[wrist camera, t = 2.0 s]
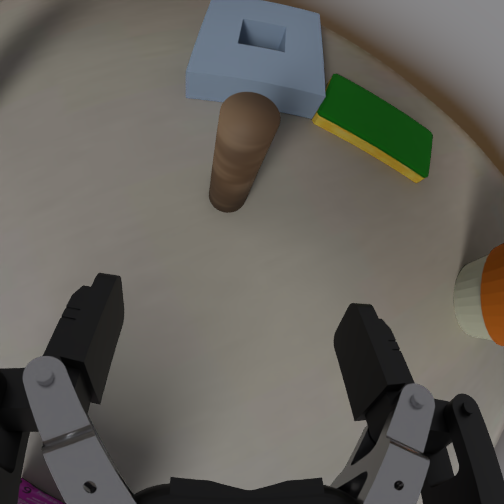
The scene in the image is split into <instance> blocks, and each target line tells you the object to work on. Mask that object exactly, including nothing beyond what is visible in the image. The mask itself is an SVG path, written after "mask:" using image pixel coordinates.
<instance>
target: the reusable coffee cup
mask: <svg viewBox="0 0 504 504" xmlns="http://www.w3.org/2000/svg"><path fill="white" fill-rule="evenodd" d="M454 310H455V315H456V318H457V321H458V324H459V326H460V327H461V329H462V330H463V331H464V332H465V333H466V334H467V335H469V336H473V337H478V338H483V339H489V340H493V341H494V342H495V343H496V344H498V345H501V346H504V243H503V244H501V245H499V246H497V247H495V248H494V249H493V250H492V251H491V252H490V254H489V255H487V256H484V257H482V258H480V259H478V260H476V261H473V262H471V263H469V264H467V265H466V266H464V267H463V268H462V270H461V271H460V273H459V275H458V277H457V280H456V283H455V288H454Z"/></svg>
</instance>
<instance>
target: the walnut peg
mask: <svg viewBox="0 0 504 504" xmlns="http://www.w3.org/2000/svg"><path fill="white" fill-rule="evenodd" d="M279 124H280V113H279V110H278V108H277V106H276V105H275V104H274V103H273V102H272V101H271V100H270V99H269V98H267V97H265V96H263V95H261V94H258V93H254V92H240V93H236V94H233V95H231V96H230V97H228V98H227V99H226V100H225V101H224V102H223V104H222V106H221V109H220V115H219V122H218V128H217V136H216V143H215V150H214V158H213V165H212V173H211V182H210V190H209V199H210V202H211V203H212V205H213V206H214V207H215V208H216V209H218V210H219V211H222V212H227V213H228V212H234V211H237V210H238V209H240V208H241V207H242V206H243V204H244V202H245V200H246V198H247V196H248V193H249V191H250V189H251V187H252V184H253V182H254V180H255V178H256V175H257V173H258V171H259V169H260V166H261V164H262V162H263V160H264V158H265V155H266V153H267V151H268V149H269V147H270V144H271V142H272V140H273V138H274V136H275V133H276V131H277V129H278V127H279Z"/></svg>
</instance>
